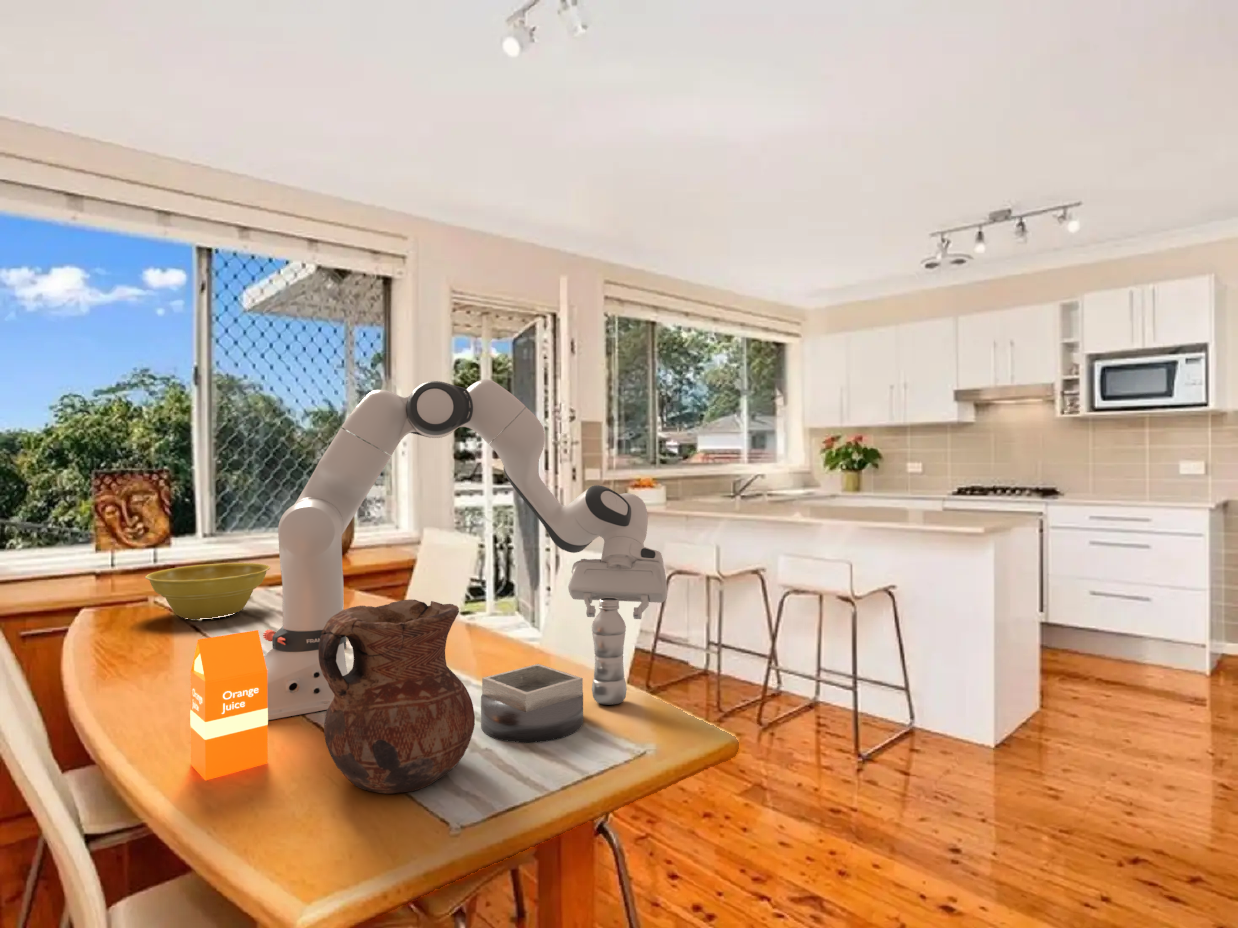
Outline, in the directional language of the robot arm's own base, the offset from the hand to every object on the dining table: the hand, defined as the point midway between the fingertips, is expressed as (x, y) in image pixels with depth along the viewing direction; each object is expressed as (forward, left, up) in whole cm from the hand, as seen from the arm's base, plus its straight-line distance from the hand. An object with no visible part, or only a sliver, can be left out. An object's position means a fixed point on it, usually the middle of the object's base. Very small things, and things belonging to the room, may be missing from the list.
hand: (613, 616), depth 146 cm
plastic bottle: (-4, -3, -16) cm, 17 cm away
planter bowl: (-35, +134, -16) cm, 140 cm away
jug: (-48, -4, -16) cm, 51 cm away
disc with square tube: (-21, -1, -16) cm, 26 cm away
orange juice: (-65, +18, -16) cm, 69 cm away
